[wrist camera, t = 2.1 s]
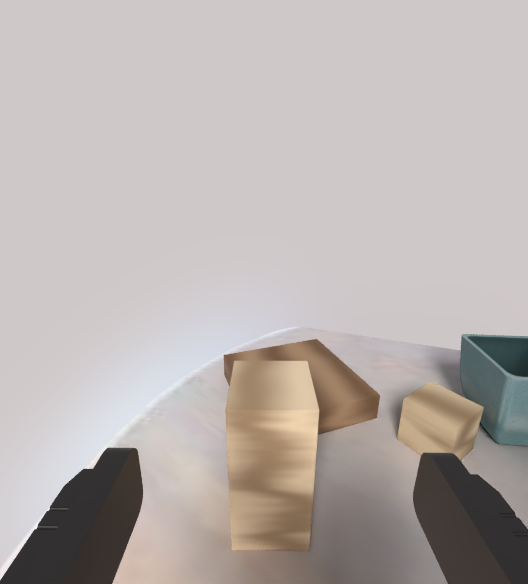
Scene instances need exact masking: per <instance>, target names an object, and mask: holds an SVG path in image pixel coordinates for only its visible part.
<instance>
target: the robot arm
mask: <svg viewBox="0 0 528 584" xmlns="http://www.w3.org/2000/svg"><path fill="white" fill-rule="evenodd" d="M142 499H143V485H142V478H141V470H140V463H139V456H138V451H137V449H136V448H107V449H106V450H105V451H104V452H103V454H102V455H101V457H100V459H99V460H98V462H97V464H96V465H95V467H94V468H93V469H83V470H82V471H81V472H79V473H78V474H77V475H76V476H75V477H74V478H73V479H72V480H70V481H69V483H67V484H66V485H65V486H64V487H63V488H62V490H61V491H60V493H59V494H58V496H57V497H56V499H55V500H54V502H53V503H52V505H51V506H50V510H49V511H47V512H46V514H45V515H44V517H43V518H42V519H41V521H40V522H39V524H38V527H37V529H36V530H34V531H33V533H32V534H31V536H30V537H29V539H28V540H27V542H26V543H25V545H24V546H23V548H22V549H21V551H20V552H19V553H18V555H17V556H16V558H15V559H14V561H13V562H12V564H11V565H10V567H9V568H8V570H7V571H6V573H5V574H4V576H3V577H2V579H1V580H0V584H112V583H113V580H114V578H115V575H116V572H117V570H118V567H119V565H120V562H121V560H122V557H123V554H124V552H125V549H126V547H127V544H128V541H129V539H130V536H131V534H132V531H133V528H134V526H135V523H136V521H137V518H138V515H139V512H140V509H141V505H142ZM413 501H414V508H415V512H416V515H417V518H418V520H419V522H420V524H421V527H422V529H423V531H424V533H425V535H426V537H427V539H428V542H429V544H430V546H431V548H432V550H433V552H434V554H435V557H436V559H437V561H438V563H439V565H440V567H441V569H442V572H443V574H444V576H445V578H446V580H447V582H448V584H528V529H527V528H526V527H525V525H524V524H523V523H522V521H521V520H520V519H519V518H517V517H516V516H515V512H514V511H513V510H512V509H511V507H510V506H509V505H508V503H507V502H506V501H505V499H504V498H503V497H502V496H501V494H500V493H499V492H498V491H497V490H496V489H494V488H493V487H492V486H491V485H490V484H488V483H487V482H486V481H485V480H483V479H482V478H481V477H480V476H479V475H473V474H470V473H469V472H468V471H467V469H466V468H465V466H464V465H463V464H462V462H461V461H460V460H459V458H458V457H457V456H456V455H455V454H453V453H428V452H424V453H423V454H422V455H421V458H420V463H419V468H418V473H417V477H416V482H415V487H414V492H413Z"/></svg>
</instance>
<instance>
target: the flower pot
mask: <svg viewBox="0 0 528 584" xmlns="http://www.w3.org/2000/svg"><path fill="white" fill-rule="evenodd" d="M460 379H461V385H462V389H463V392H464V395H465V398H466V399H468V400H470V401H472V402H474V403H476V404H478V405H480V406H482V407H484V408H483V412H482V416H481V420H480V423H481V424H482V425H483V427H484V428H485V429H486V430H487V432H488V433H489V434H490V436H491V437H492V438H493V440H494V441H496V442H497V443H499V444H505V445H522V446H528V337H526V336H496V335H475V334H463V335H462V341H461V358H460Z"/></svg>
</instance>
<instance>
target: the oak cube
mask: <svg viewBox="0 0 528 584" xmlns="http://www.w3.org/2000/svg"><path fill="white" fill-rule="evenodd" d="M483 408H484V407H482V406H480V405H478V404H476V403H474V402H472V401H470V400H468V399H466V398H464V397H462V396H460V395H458V394H456V393H454V392H452V391H450V390H448V389H446V388H444V387H442V386H440V385H438V384H436V383H434V382H430V383H428V384H426V385H425V386H423V387H422V388H420V389H418V390H417V391H415V392H413V393H412V394H410V395H409V396H407V397H405V398H404V400H403V406H402V412H401V418H400V424H399V430H398V436H397V439H398V440H399V441H400V442H402V443H403V444H405V445H406V446H408V447H409V448H411V449H412V450H413V451H415V452H416V453H418V454H419V455H422V454H423V453H424V452H428V453H453V454H455V455H456V456H457V457H458V458H459V460H460V461H461V460H462V459H463V458H464V457H465V456H466V455H467V454H468V453H469V452H470V451H471V450H472V449H473V446H474V442H475V438H476V435H477V431H478V427H479V423H480V420H481V416H482V412H483Z"/></svg>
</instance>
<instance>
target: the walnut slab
mask: <svg viewBox="0 0 528 584" xmlns="http://www.w3.org/2000/svg"><path fill="white" fill-rule="evenodd" d="M234 361H307V362H308V366H309V370H310V374H311V378H312V382H313V386H314V390H315V395H316V399H317V403H318V407H319V421H318V434H321V433H325V432H328V431H332V430H335V429H339V428H343V427H346V426H350V425H353V424H357V423H360V422H364V421H367V420H371V419H374V418H377V412H378V405H379V398H380V395H379V394H378V393H377V392H376V391H375V390H374V389H373V388H371V387H370V386H369V385H368V384H367V383H366V382H365V381H364V380H362V379H361V378H360V377H359V376H358V375H357V374H356V373H355V372H353V371H352V370H351V369H350V368H349V367H348V366H347V365H345V364H344V363H343V362H342V361H341V360H340V359H339V358H338V357H336V356H335V355H334V354H333V353H332V352H331V351H330V350H329V349H327V348H326V347H325V346H324V345H323V344H322V343H321V342H320V341H318V340H317V339H314V340H308V341H303V342H297V343H291V344H285V345H280V346H274V347H268V348H262V349H257V350H251V351H245V352H239V353H234V354H228V355H224V374H225V377H226V379H227V382H228V384H229V386H230V382H231V376H232V371H233V365H234Z"/></svg>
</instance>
